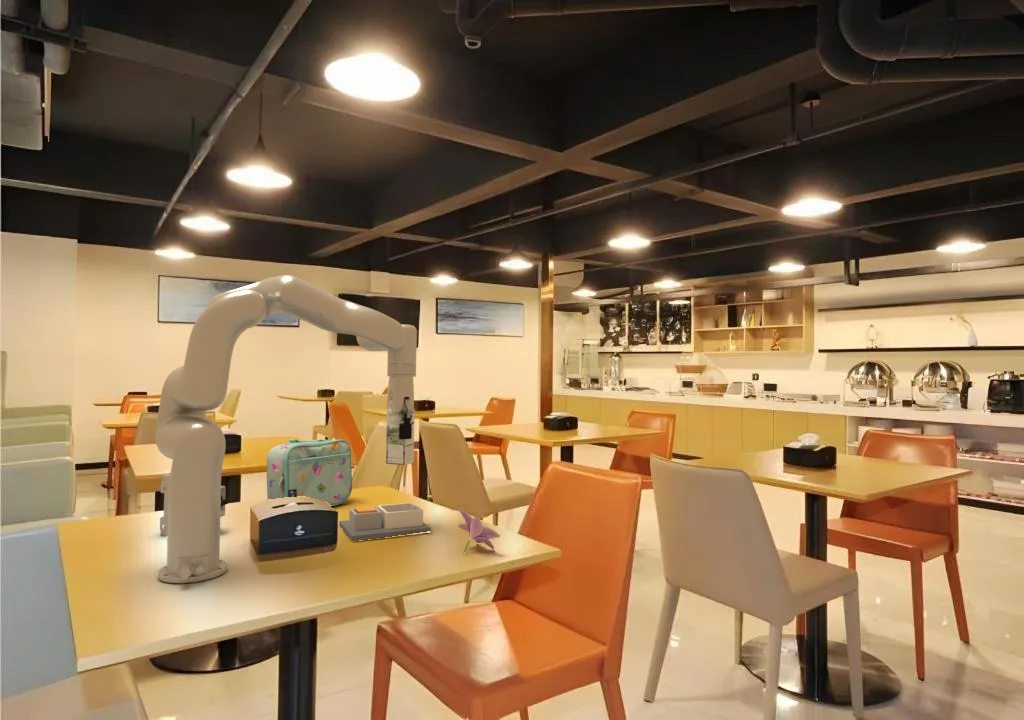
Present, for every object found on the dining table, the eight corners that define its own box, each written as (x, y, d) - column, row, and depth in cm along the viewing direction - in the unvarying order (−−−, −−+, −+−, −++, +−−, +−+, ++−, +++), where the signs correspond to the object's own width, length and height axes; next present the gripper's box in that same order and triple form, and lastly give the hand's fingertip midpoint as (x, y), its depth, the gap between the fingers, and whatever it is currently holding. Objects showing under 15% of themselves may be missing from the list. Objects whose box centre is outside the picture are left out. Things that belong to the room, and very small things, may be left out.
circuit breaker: (216, 537, 152) (218, 476, 152) (159, 536, 152) (161, 475, 152) (231, 529, 159) (232, 471, 160) (176, 528, 160) (178, 470, 160)
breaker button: (375, 525, 158) (376, 510, 158) (358, 527, 156) (358, 511, 156) (371, 521, 162) (371, 506, 162) (354, 523, 160) (355, 507, 160)
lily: (501, 564, 137) (512, 522, 142) (453, 547, 134) (466, 504, 139) (481, 566, 148) (493, 527, 152) (437, 550, 145) (450, 510, 149)
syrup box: (414, 462, 165) (415, 408, 165) (404, 465, 159) (406, 409, 160) (395, 461, 167) (396, 407, 167) (384, 464, 161) (386, 408, 161)
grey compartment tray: (430, 533, 158) (431, 512, 158) (352, 542, 149) (352, 519, 149) (412, 519, 173) (412, 499, 173) (339, 526, 164) (339, 506, 164)
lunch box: (285, 521, 169) (286, 443, 170) (260, 516, 174) (262, 440, 175) (355, 503, 192) (356, 434, 193) (331, 499, 198) (332, 432, 198)
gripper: (379, 370, 170) (378, 434, 169) (396, 371, 154) (395, 441, 154) (406, 371, 173) (404, 433, 173) (425, 371, 157) (424, 440, 157)
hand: (400, 436), depth 163 cm, fingers closed on syrup box, 8 cm apart
